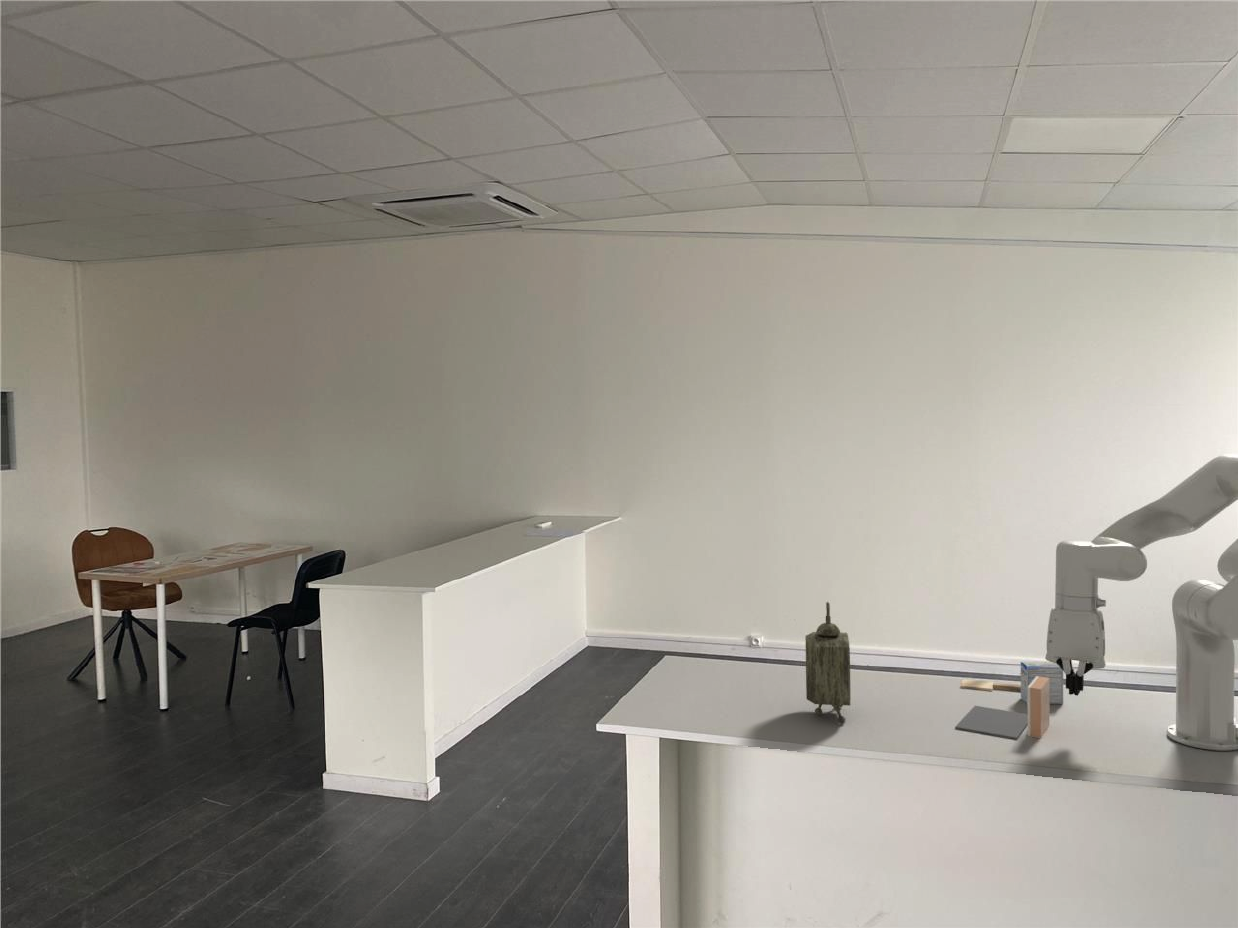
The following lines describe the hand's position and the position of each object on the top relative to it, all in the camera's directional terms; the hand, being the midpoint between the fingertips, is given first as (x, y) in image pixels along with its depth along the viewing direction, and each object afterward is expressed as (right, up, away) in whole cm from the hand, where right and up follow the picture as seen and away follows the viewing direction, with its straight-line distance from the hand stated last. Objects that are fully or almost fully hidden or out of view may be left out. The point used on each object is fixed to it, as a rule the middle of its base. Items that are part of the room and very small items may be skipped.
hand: (1074, 693), depth 176 cm
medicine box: (+4, -8, +22) cm, 24 cm away
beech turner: (-2, -7, +33) cm, 34 cm away
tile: (-5, -9, +4) cm, 11 cm away
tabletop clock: (-46, -9, +17) cm, 49 cm away
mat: (-12, -9, +9) cm, 18 cm away
